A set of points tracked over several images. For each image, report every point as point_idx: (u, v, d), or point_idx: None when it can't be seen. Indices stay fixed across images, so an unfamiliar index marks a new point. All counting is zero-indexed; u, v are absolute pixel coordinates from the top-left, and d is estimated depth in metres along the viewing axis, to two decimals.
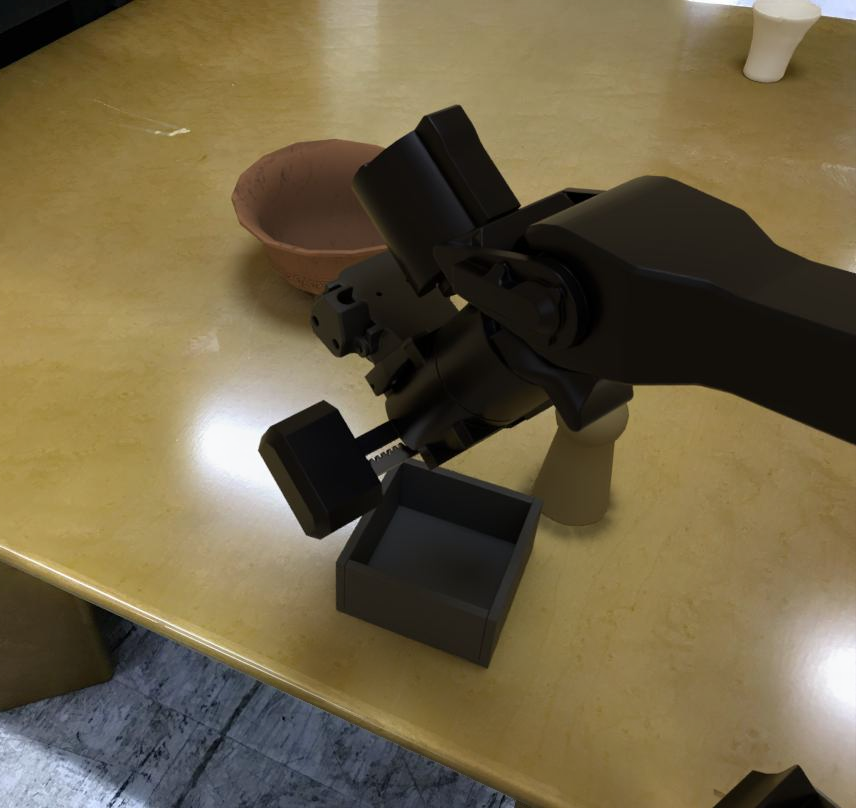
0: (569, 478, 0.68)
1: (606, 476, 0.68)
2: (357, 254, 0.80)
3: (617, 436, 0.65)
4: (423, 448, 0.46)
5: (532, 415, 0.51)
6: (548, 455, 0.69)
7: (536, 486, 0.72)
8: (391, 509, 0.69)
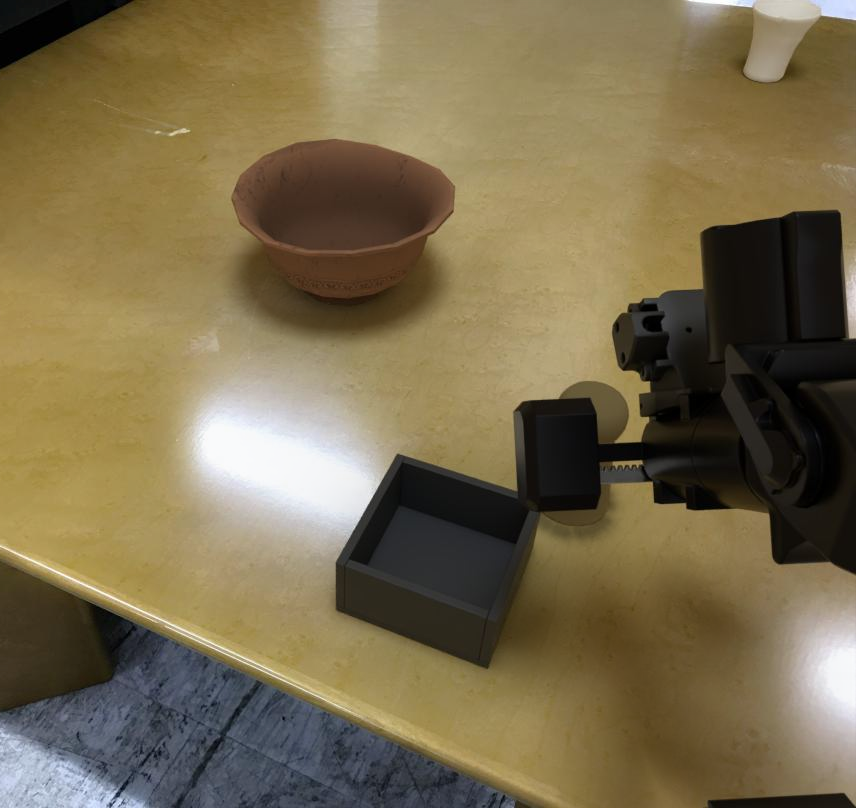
0: None
1: None
2: (357, 254, 0.80)
3: (617, 436, 0.65)
4: (657, 482, 0.48)
5: None
6: None
7: None
8: (391, 509, 0.69)
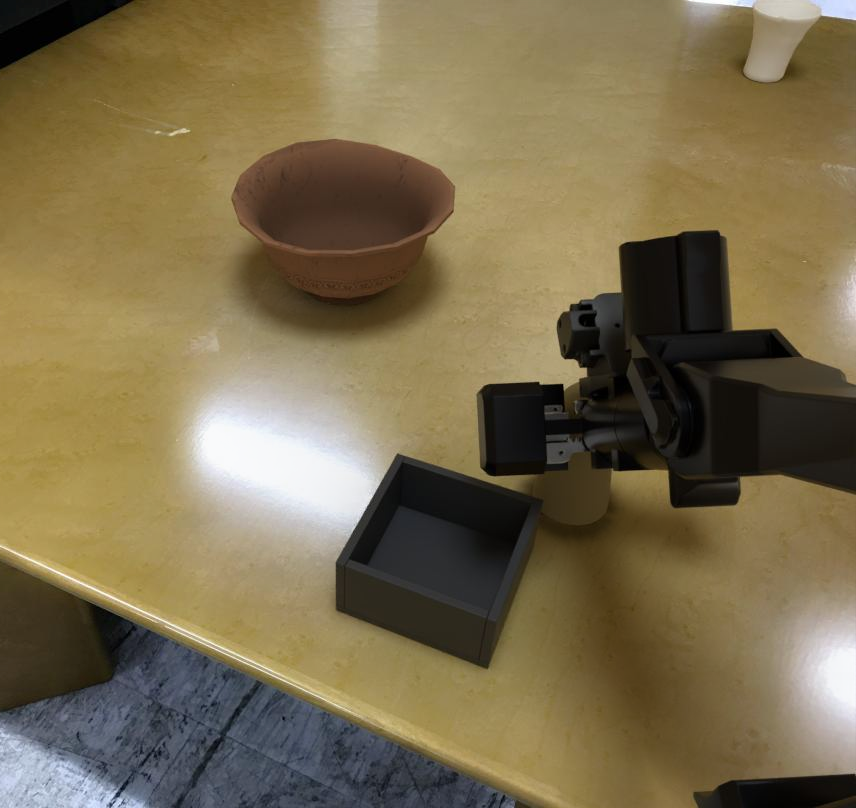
0: (568, 478, 0.68)
1: (606, 475, 0.68)
2: (357, 254, 0.80)
3: None
4: (593, 451, 0.59)
5: None
6: None
7: (536, 486, 0.72)
8: (391, 509, 0.69)
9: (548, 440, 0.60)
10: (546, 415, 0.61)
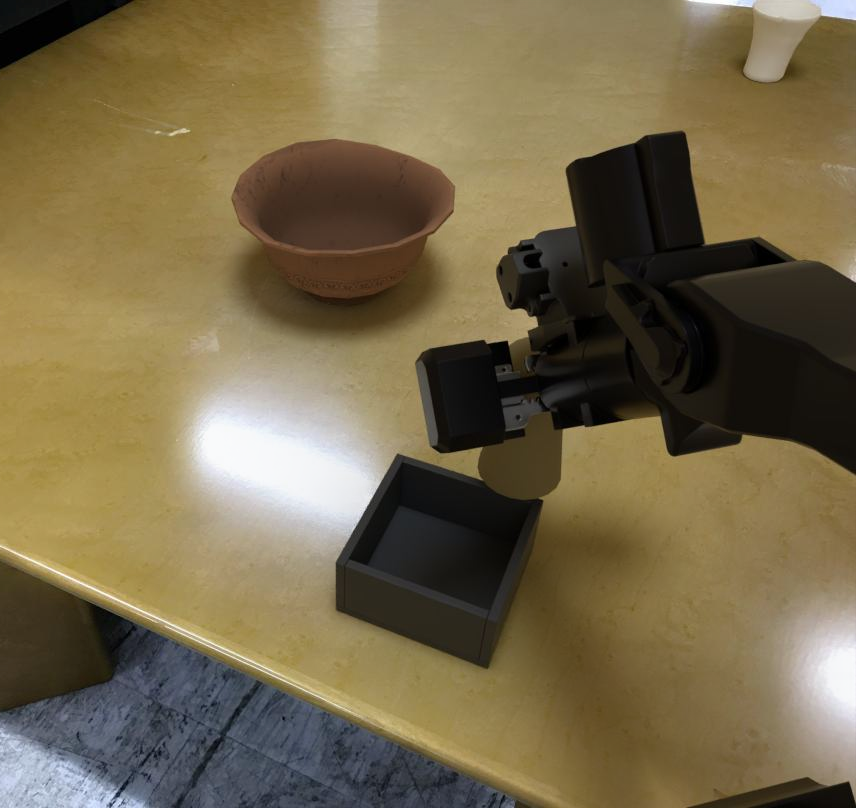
0: (520, 447, 0.61)
1: (559, 439, 0.61)
2: (357, 254, 0.80)
3: None
4: (555, 410, 0.52)
5: None
6: None
7: (482, 462, 0.65)
8: (391, 509, 0.69)
9: (501, 405, 0.53)
10: None
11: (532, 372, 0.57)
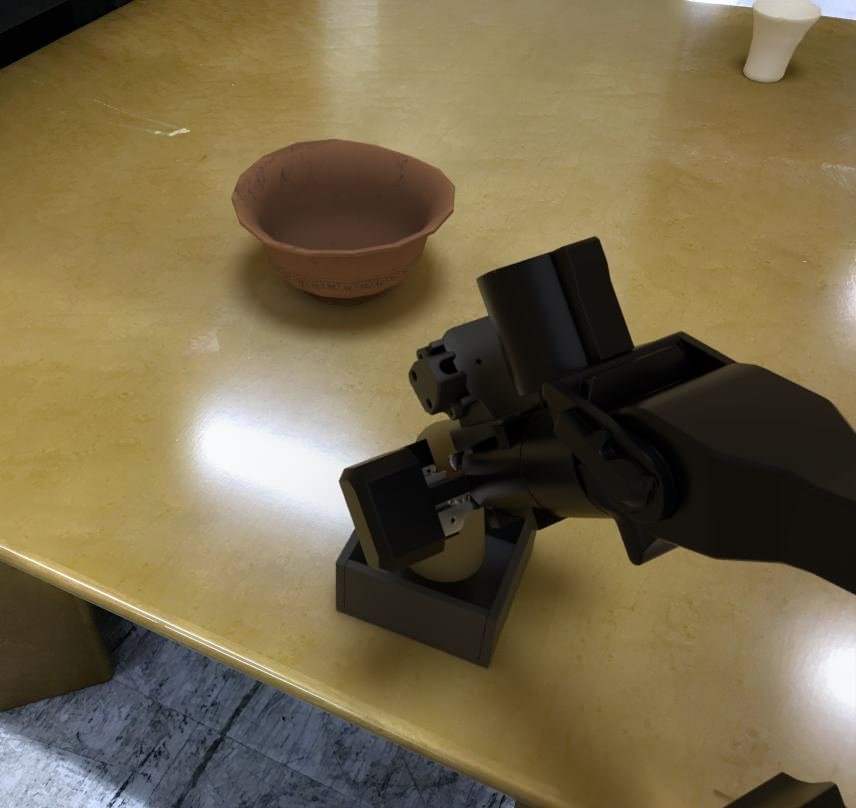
0: None
1: (482, 517, 0.60)
2: (357, 254, 0.80)
3: None
4: (490, 508, 0.50)
5: None
6: None
7: None
8: None
9: None
10: None
11: None
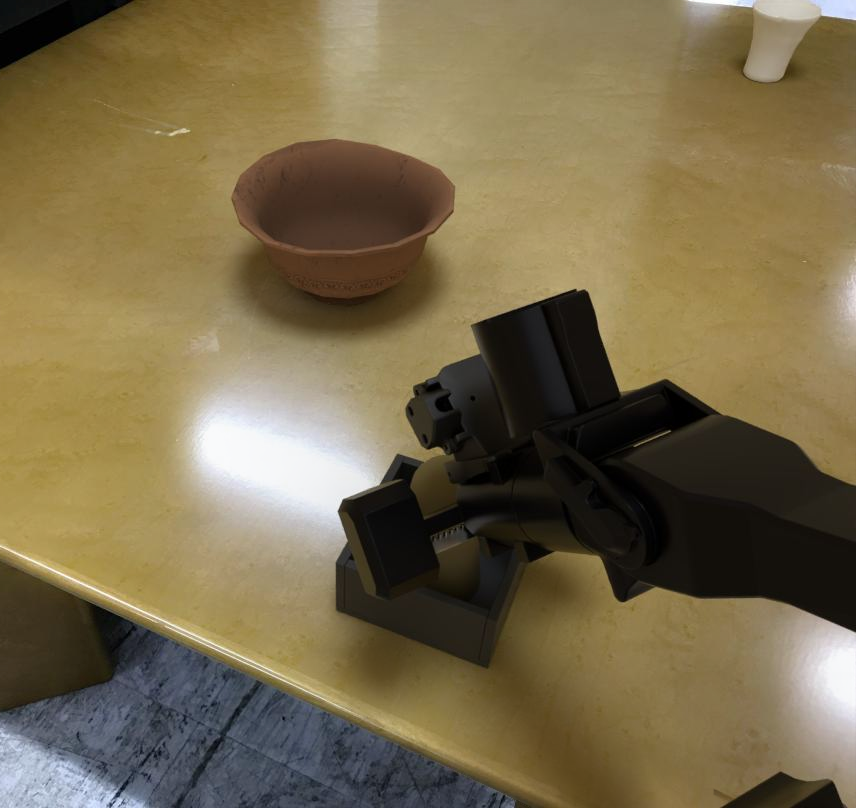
0: (443, 564, 0.61)
1: (477, 547, 0.63)
2: (357, 254, 0.80)
3: None
4: (482, 538, 0.52)
5: None
6: None
7: None
8: None
9: None
10: None
11: (448, 498, 0.58)
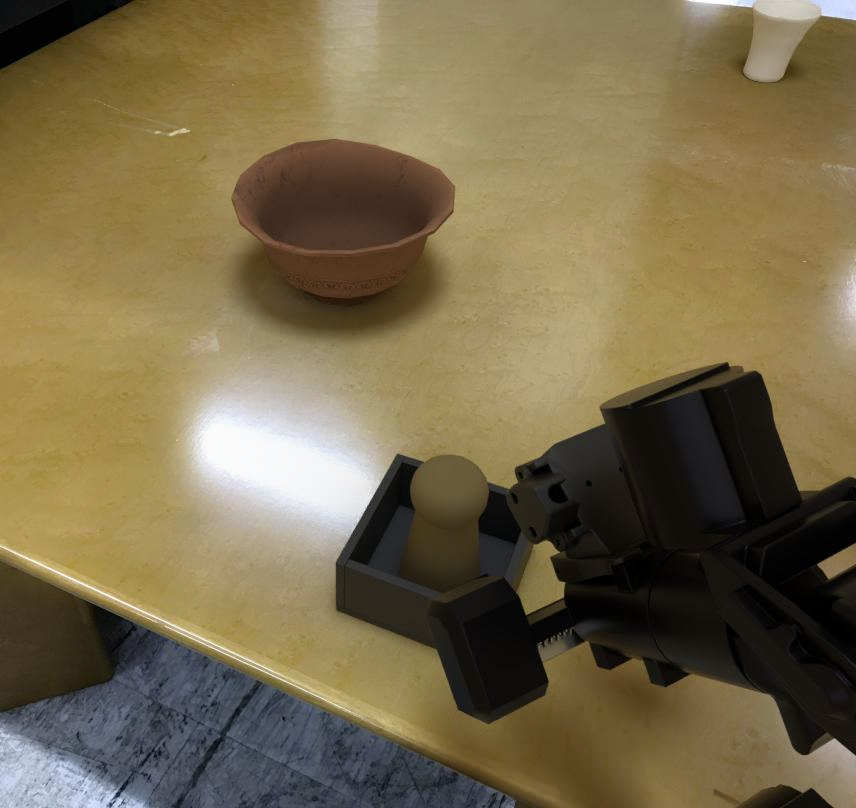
0: (443, 564, 0.61)
1: (477, 547, 0.63)
2: (357, 254, 0.80)
3: (484, 509, 0.59)
4: (597, 647, 0.44)
5: None
6: (412, 544, 0.63)
7: (405, 577, 0.65)
8: (391, 509, 0.69)
9: None
10: None
11: (448, 498, 0.58)
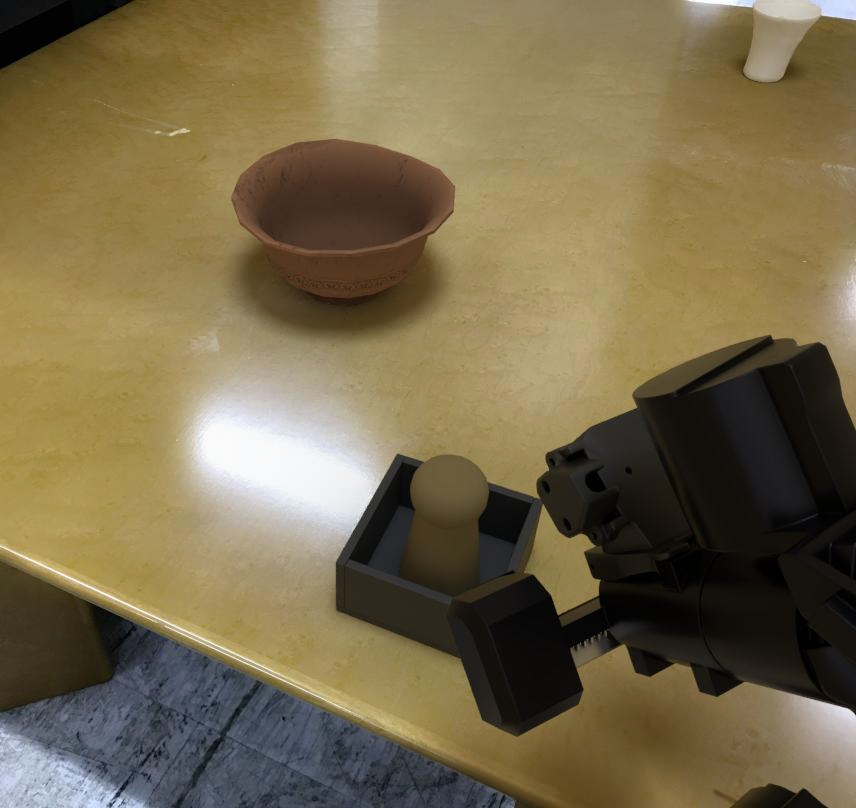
0: (443, 564, 0.61)
1: (477, 547, 0.63)
2: (357, 254, 0.80)
3: (484, 509, 0.59)
4: (636, 651, 0.40)
5: None
6: (412, 544, 0.63)
7: (405, 577, 0.65)
8: (391, 509, 0.69)
9: None
10: None
11: (448, 498, 0.58)
